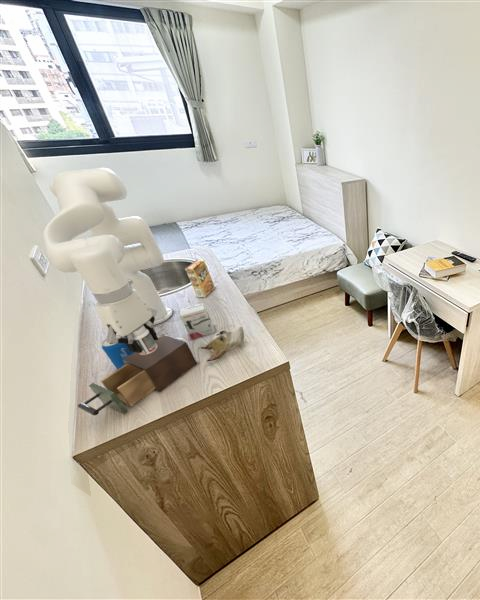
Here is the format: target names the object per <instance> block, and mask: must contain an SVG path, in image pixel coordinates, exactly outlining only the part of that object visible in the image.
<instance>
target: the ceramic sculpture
mask: <svg viewBox="0 0 480 600" xmlns="http://www.w3.org/2000/svg"><path fill="white" fill-rule="evenodd" d="M244 339H245V333H244V329H243V326H239V327H235V328H234V329H233V330H231V331H228V330H221V331H219V333H217V334H215V335H213V336H212V337H211V339H210V340H209V342H208V343H207V344H206V345H204V346H203V345H202V346H201V347H200V349H201V350H206V351H207V350H209V351H210V350H212V351H213V352H212V353H210V356H209V357H208V358H207V360H206V362H208V363H209V362H213V361H217V360H220V359H221V358H222V357H223V356H224V355H225V354H226V353H227V352H230V351H231V350H233V349H234V348H237V347H243V346H244V341H245V340H244Z"/></svg>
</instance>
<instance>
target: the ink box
mask: <svg viewBox="0 0 480 600" xmlns="http://www.w3.org/2000/svg"><path fill="white" fill-rule="evenodd" d="M178 312H179V317H180V320H181V322H182V323H183V325H184V328H185V330H186V332H187V333H188V336H189V338H190V340H192V341H193V340H195V339H198V338H201V337H204V336H208V335H211V334H214V333H216V332H215V326H214V323H213V321H212V319H211V317H210V314H209V311H208V309H207V306H206V305H205V303H203V302H200V303H198V304H194V305H189V306H187V307H186V306H185V307H184V308H180V309H179V311H178Z"/></svg>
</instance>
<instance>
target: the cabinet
mask: <svg viewBox="0 0 480 600" xmlns="http://www.w3.org/2000/svg"><path fill="white" fill-rule="evenodd" d="M154 341H155V342H156V344H157V349H156V350H155V351H154V352H152V353H150V354H146V355H140V354H139V353H137V352H135V353H133V354H131V355H130V356H128V357H127V358H125V359H123V361H124V363H125V364H127V363H128V364H130V365H133V366H135V367H138V368H140V369H143V370H145V371H146V373H147V374H148V376H149V377H150V379H151V380H152V382H153V383H154V385H155V387H156V388H155V389H154V390H153V391H157V392H159V393H161V392H163V390H164V389H166V388H168V387H169V386H171V384H173V383H174V382H175V381H176V380H178V379H179V378H181V377H183V375H184V374H186V373H187V372H189V371H190V370H191V369H192V368H194V367H195V366H197V364H198V362H197V361H196V358H195V357H194V355H193V354H194V353H192V350H191V348H190V347H189V345H188V344H189V343H188V342H187V341H184V340H182V339H179V338H176V337H174V336H173V337H172V336H170V335H167V334H162V335H160V336H159V337H158V340H154Z"/></svg>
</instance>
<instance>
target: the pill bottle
mask: <svg viewBox="0 0 480 600" xmlns="http://www.w3.org/2000/svg"><path fill="white" fill-rule="evenodd" d="M131 333H132V337H133V341H136V342H137V343H138V345H139V346H140V348H141V349H142V352H141V353H139V354H140V355H146V354H150V353H152V352H154V351H155V350H156V349H157V344H156V342H155V341H154V339H153V337H152V335H151V334H150V332H149V330H148V329H146V328H145V327H144V325H141V326H140V327H138V328H137V329H135V330H134V331H133V332H131Z"/></svg>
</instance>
